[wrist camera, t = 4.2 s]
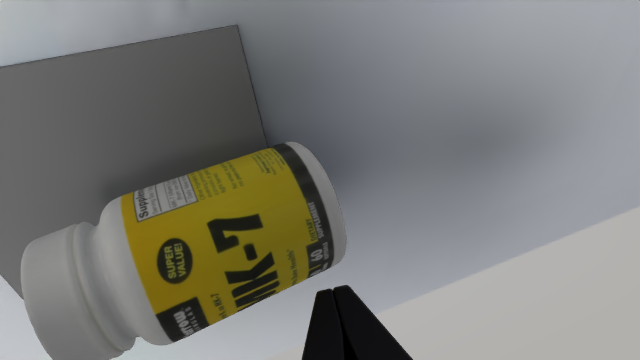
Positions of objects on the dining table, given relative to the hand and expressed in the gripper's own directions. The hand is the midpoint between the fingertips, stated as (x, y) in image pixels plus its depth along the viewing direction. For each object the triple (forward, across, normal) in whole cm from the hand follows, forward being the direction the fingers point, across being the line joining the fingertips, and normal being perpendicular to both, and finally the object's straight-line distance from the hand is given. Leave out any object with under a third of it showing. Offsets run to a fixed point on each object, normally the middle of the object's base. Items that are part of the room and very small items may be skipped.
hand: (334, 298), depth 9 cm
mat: (+7, +7, 0) cm, 10 cm away
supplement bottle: (+4, 0, 0) cm, 5 cm away
